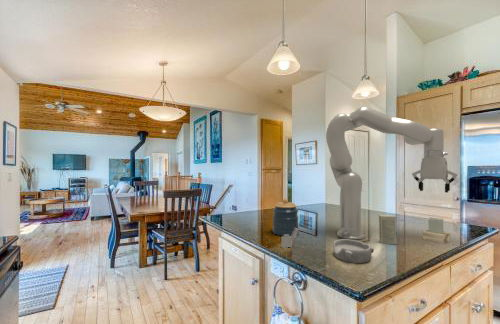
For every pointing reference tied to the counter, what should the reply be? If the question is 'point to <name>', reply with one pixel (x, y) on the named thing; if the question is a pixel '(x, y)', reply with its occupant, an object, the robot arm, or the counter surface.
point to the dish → (352, 250)
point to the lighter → (288, 239)
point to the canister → (285, 218)
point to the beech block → (437, 237)
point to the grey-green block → (435, 225)
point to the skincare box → (387, 229)
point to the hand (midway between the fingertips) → (433, 191)
